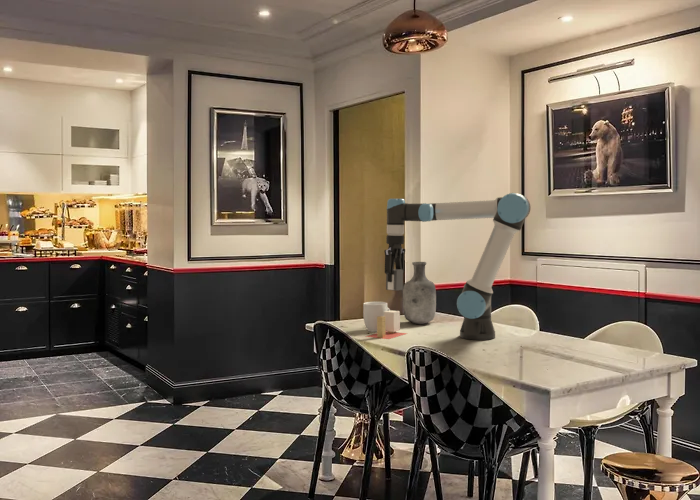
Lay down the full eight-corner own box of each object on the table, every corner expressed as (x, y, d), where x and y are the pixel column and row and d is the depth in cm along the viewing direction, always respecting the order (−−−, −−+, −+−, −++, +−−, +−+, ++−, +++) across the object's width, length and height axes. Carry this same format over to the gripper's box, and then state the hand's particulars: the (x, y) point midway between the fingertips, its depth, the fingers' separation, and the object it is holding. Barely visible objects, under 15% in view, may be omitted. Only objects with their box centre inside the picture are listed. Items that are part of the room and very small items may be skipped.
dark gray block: (402, 289, 293) (403, 269, 292) (396, 290, 289) (396, 270, 288) (392, 288, 296) (392, 268, 295) (385, 289, 291) (386, 269, 291)
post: (385, 337, 295) (385, 316, 295) (382, 338, 293) (382, 317, 293) (380, 336, 297) (380, 316, 296) (377, 337, 295) (377, 316, 294)
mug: (382, 327, 322) (382, 300, 321) (398, 330, 314) (398, 302, 313) (358, 331, 313) (358, 303, 312) (374, 334, 304) (374, 305, 303)
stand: (408, 334, 304) (408, 311, 303) (388, 340, 290) (388, 316, 290) (385, 331, 311) (385, 309, 310) (365, 337, 297) (365, 314, 297)
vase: (398, 321, 338) (397, 261, 337) (428, 320, 343) (427, 260, 341) (410, 327, 323) (410, 263, 321) (441, 324, 328) (441, 262, 326)
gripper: (398, 234, 300) (397, 286, 302) (376, 235, 285) (375, 290, 287) (413, 234, 296) (412, 287, 297) (391, 235, 281) (390, 291, 282)
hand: (394, 288), depth 292 cm, fingers closed on dark gray block, 5 cm apart
